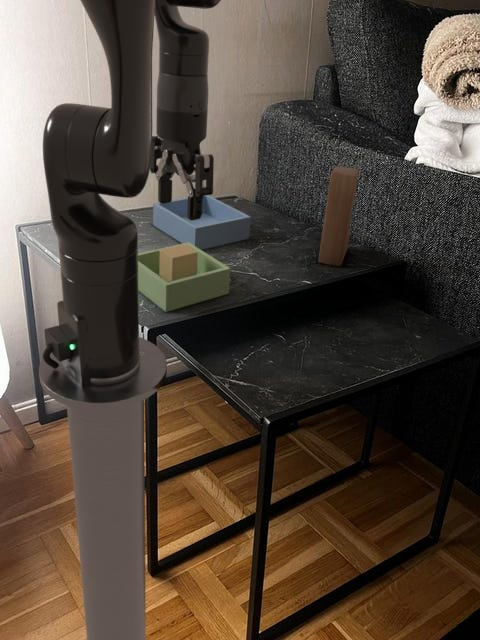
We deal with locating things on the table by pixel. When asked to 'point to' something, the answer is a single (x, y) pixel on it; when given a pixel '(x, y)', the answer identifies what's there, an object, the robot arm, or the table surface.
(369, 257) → the table surface
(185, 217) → the blue tote
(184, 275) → the block
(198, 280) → the green tote
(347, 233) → the wooden block
